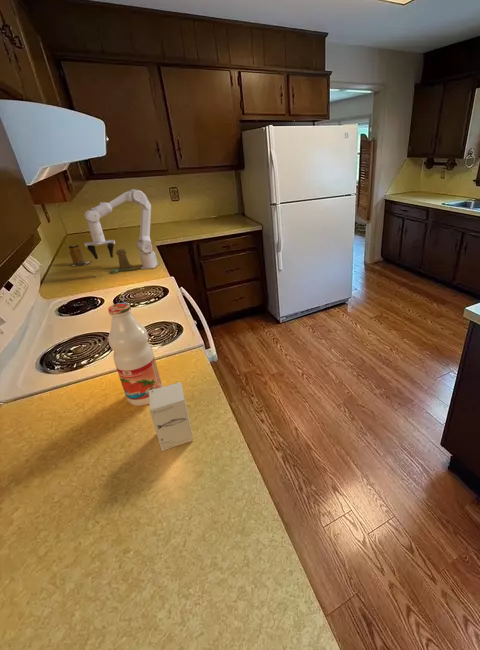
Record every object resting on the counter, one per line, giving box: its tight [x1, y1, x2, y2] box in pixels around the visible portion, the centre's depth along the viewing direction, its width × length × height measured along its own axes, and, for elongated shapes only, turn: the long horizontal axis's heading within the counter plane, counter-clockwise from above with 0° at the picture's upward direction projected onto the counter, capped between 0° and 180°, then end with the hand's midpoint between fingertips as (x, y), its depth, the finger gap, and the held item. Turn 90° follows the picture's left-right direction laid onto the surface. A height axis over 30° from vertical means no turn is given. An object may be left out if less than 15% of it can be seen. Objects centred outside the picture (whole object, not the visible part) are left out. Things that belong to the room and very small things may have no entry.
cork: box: [115, 248, 132, 270], centre depth 197 cm, size 6×6×11 cm
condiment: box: [68, 244, 91, 267], centre depth 206 cm, size 7×8×12 cm
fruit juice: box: [107, 301, 163, 407], centre depth 87 cm, size 9×9×28 cm
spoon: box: [109, 267, 139, 274], centre depth 193 cm, size 15×4×1 cm, turn 107°
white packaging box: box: [148, 381, 194, 452], centre depth 76 cm, size 7×7×13 cm
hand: (104, 257), depth 182 cm, fingers open, 7 cm apart
